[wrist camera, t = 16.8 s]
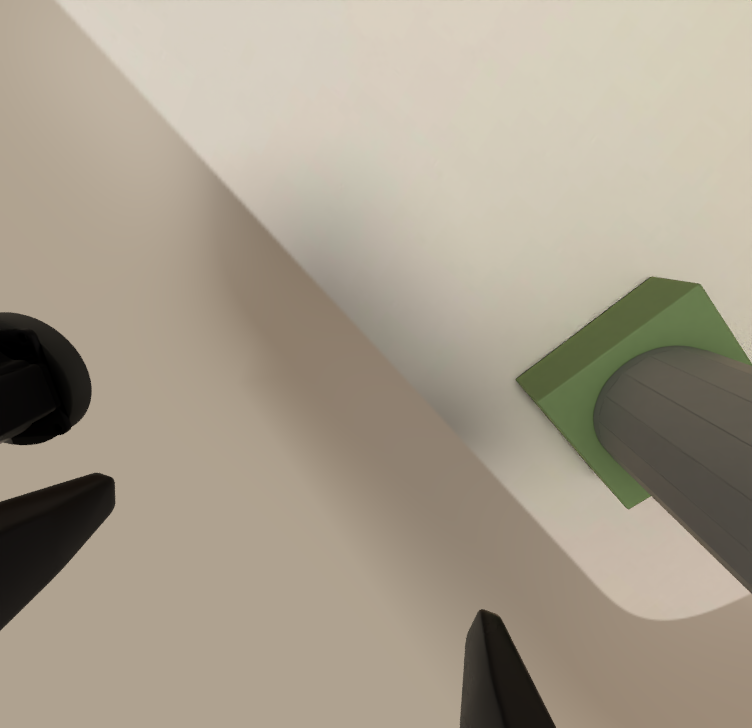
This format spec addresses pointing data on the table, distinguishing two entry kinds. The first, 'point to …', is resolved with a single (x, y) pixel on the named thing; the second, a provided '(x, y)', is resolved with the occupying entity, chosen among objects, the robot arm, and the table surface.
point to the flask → (687, 443)
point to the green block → (611, 351)
